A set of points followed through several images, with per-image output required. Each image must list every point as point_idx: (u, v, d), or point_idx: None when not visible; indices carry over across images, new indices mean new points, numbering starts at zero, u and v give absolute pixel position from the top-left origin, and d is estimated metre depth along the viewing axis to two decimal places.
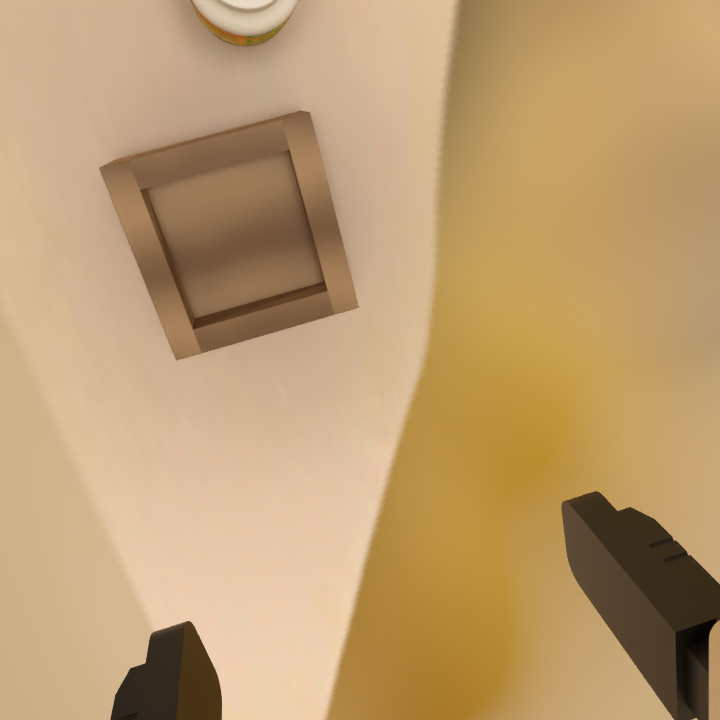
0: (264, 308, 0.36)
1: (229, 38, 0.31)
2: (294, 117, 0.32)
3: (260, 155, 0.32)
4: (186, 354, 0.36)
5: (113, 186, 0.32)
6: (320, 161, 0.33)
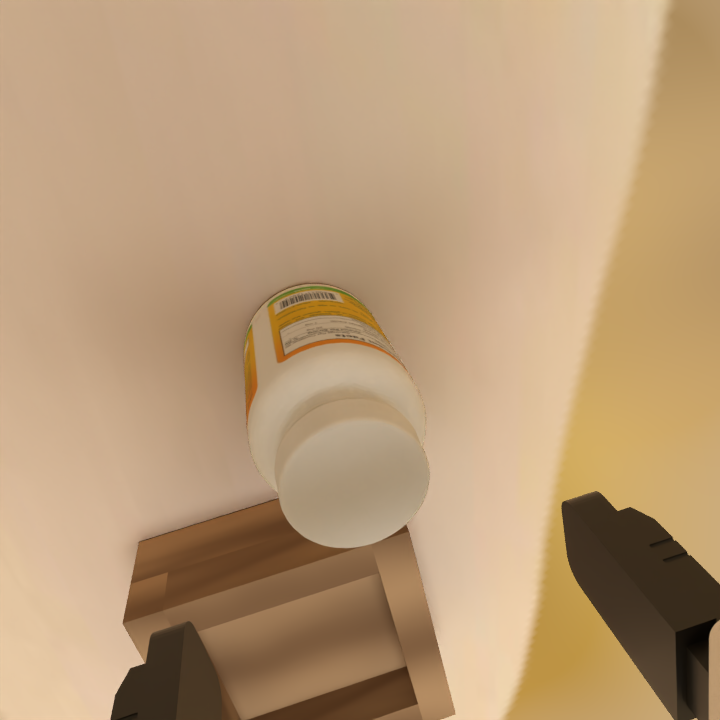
0: None
1: None
2: (388, 538, 0.23)
3: (340, 583, 0.24)
4: None
5: (142, 639, 0.23)
6: (419, 579, 0.25)
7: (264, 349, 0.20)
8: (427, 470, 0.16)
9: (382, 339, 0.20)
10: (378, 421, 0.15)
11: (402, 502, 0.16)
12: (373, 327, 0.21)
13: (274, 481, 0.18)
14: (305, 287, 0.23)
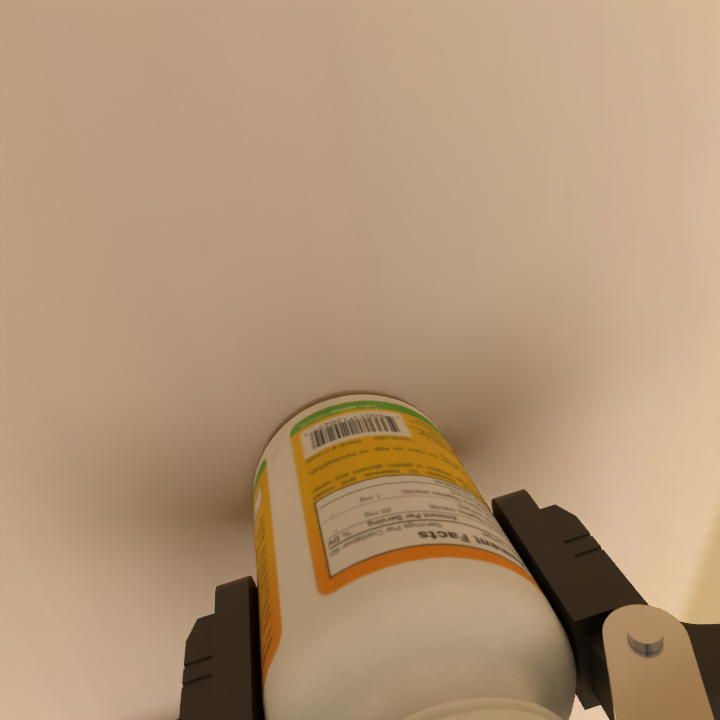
0: None
1: None
2: None
3: None
4: None
5: None
6: None
7: (288, 537, 0.12)
8: None
9: (486, 516, 0.12)
10: None
11: None
12: (466, 487, 0.13)
13: None
14: (348, 403, 0.15)
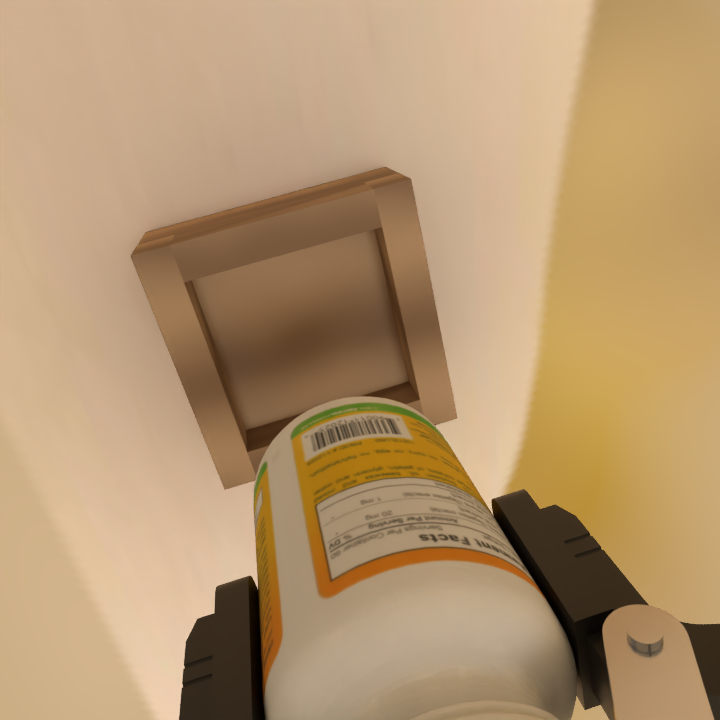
0: None
1: None
2: (390, 185, 0.24)
3: (343, 235, 0.24)
4: (238, 481, 0.28)
5: (149, 279, 0.24)
6: (421, 241, 0.25)
7: (290, 539, 0.12)
8: None
9: (487, 519, 0.12)
10: None
11: None
12: (467, 490, 0.13)
13: None
14: (349, 405, 0.15)
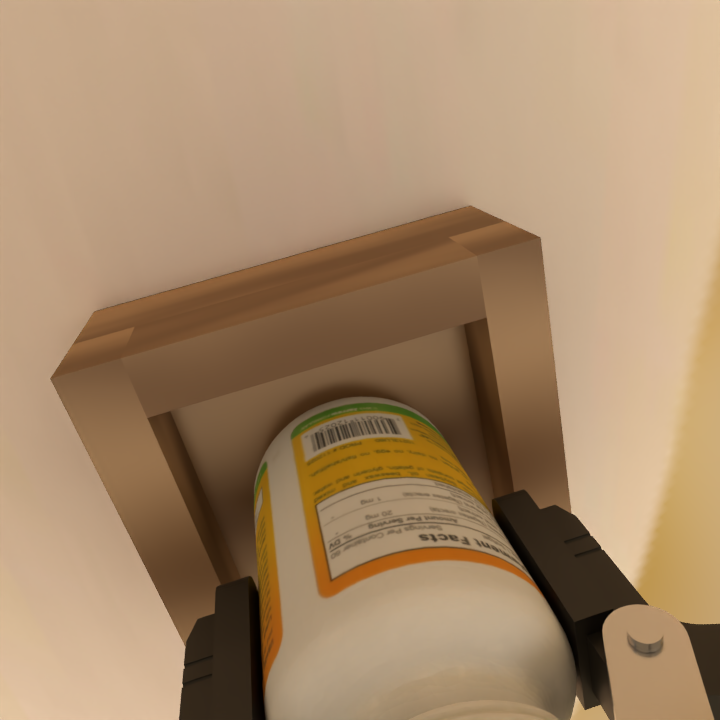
0: None
1: None
2: (505, 249, 0.14)
3: (422, 332, 0.14)
4: None
5: (86, 415, 0.13)
6: (548, 338, 0.15)
7: (290, 539, 0.12)
8: None
9: (487, 519, 0.12)
10: None
11: None
12: (466, 490, 0.13)
13: None
14: (350, 405, 0.15)
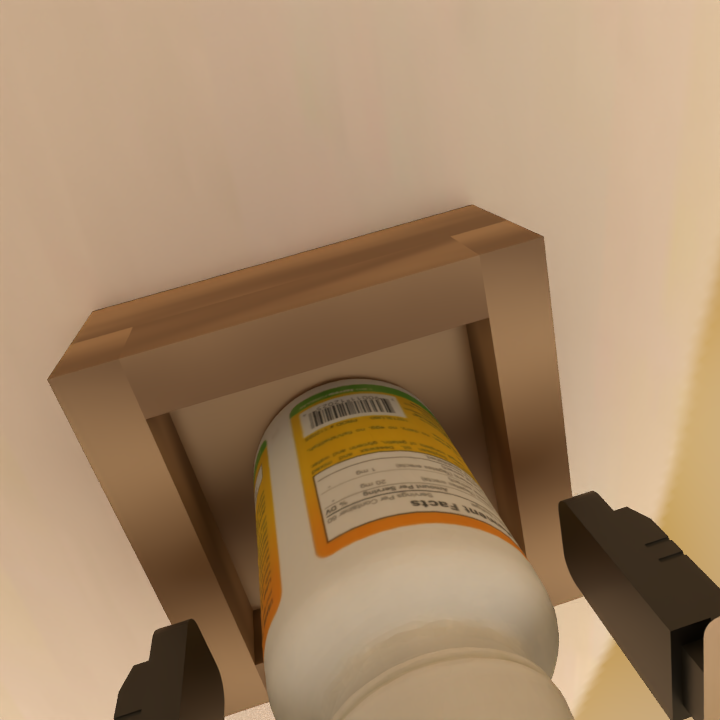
0: None
1: None
2: (508, 248, 0.14)
3: (423, 332, 0.14)
4: (240, 706, 0.17)
5: (84, 416, 0.13)
6: (551, 338, 0.15)
7: (288, 508, 0.12)
8: None
9: (476, 490, 0.13)
10: None
11: None
12: (457, 464, 0.13)
13: None
14: (346, 386, 0.16)
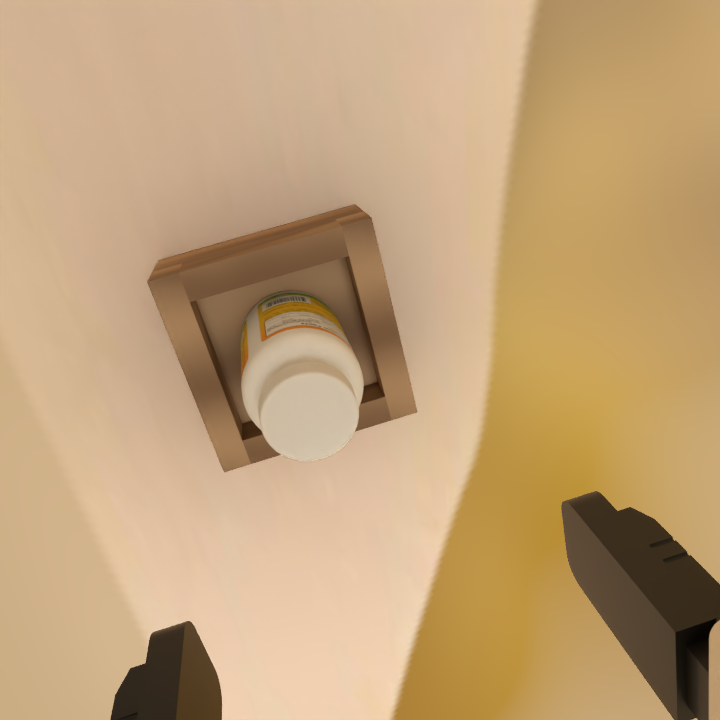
0: None
1: None
2: (355, 223, 0.30)
3: (318, 263, 0.30)
4: (234, 465, 0.33)
5: (162, 300, 0.29)
6: (381, 266, 0.31)
7: (253, 334, 0.28)
8: (357, 408, 0.25)
9: (335, 328, 0.29)
10: (323, 374, 0.24)
11: (341, 430, 0.25)
12: (330, 320, 0.29)
13: (259, 421, 0.27)
14: (285, 293, 0.32)
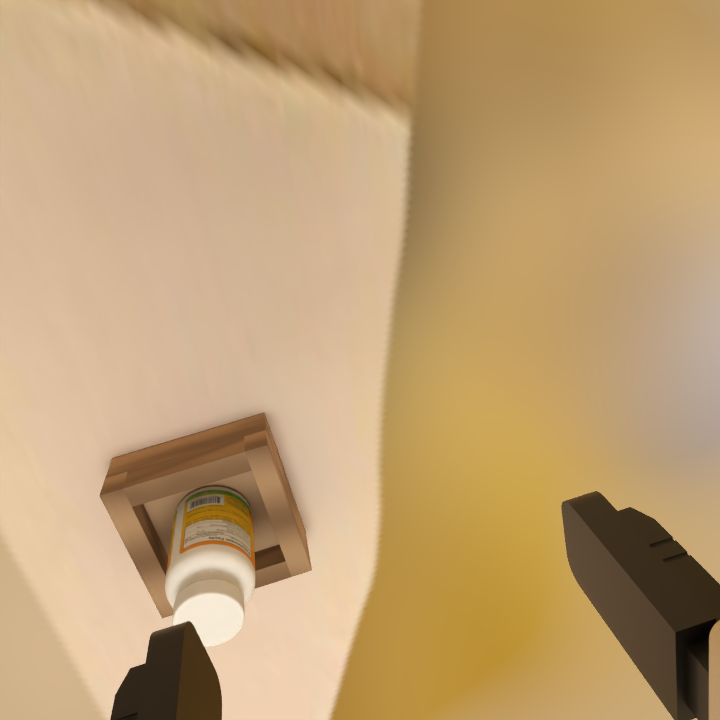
0: None
1: None
2: (255, 449, 0.40)
3: (228, 476, 0.41)
4: (170, 613, 0.44)
5: (111, 506, 0.40)
6: (276, 476, 0.41)
7: (176, 538, 0.39)
8: (242, 612, 0.35)
9: (237, 532, 0.39)
10: (216, 593, 0.34)
11: (232, 626, 0.36)
12: (235, 523, 0.40)
13: None
14: (206, 490, 0.42)
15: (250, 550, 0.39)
